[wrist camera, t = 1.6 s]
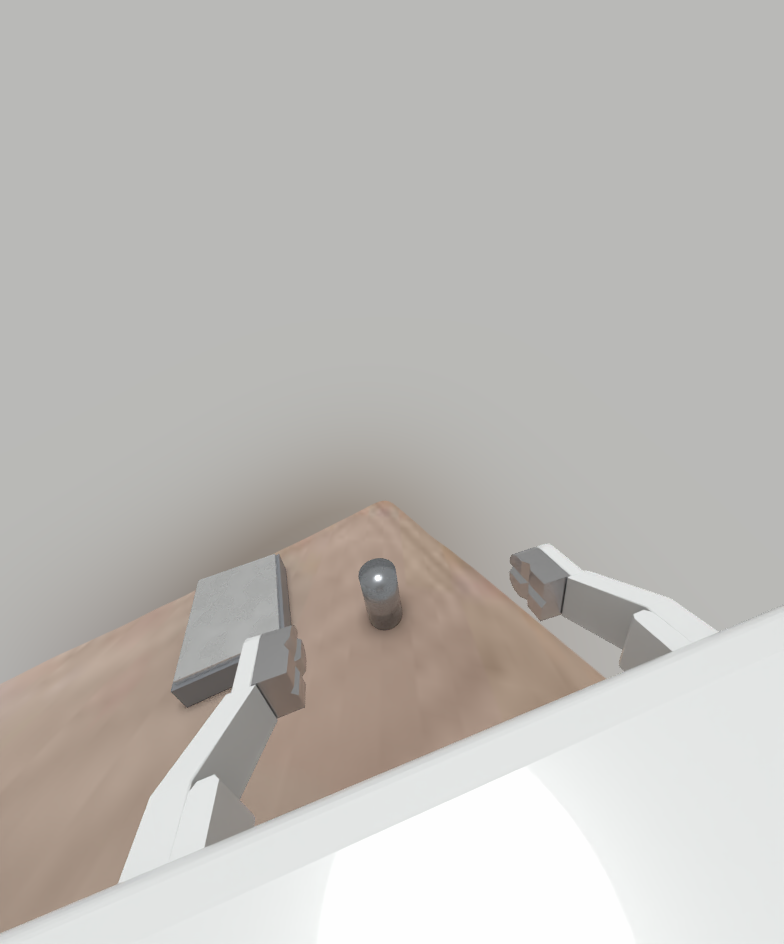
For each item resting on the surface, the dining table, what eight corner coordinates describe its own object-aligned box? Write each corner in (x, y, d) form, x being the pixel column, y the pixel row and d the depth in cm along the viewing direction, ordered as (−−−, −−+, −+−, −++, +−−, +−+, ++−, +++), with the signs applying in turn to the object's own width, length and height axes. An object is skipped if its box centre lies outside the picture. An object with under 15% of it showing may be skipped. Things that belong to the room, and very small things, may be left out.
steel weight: (375, 636, 40) (365, 594, 35) (364, 607, 44) (354, 566, 40) (407, 620, 41) (401, 579, 37) (394, 594, 45) (387, 553, 41)
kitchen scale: (187, 707, 35) (167, 688, 33) (209, 595, 49) (196, 576, 47) (294, 658, 38) (283, 638, 36) (285, 567, 53) (277, 548, 51)
